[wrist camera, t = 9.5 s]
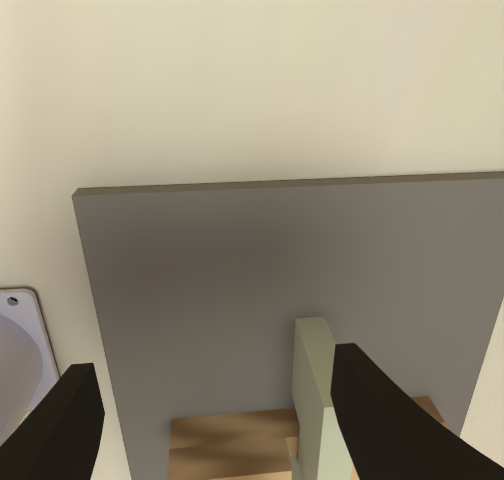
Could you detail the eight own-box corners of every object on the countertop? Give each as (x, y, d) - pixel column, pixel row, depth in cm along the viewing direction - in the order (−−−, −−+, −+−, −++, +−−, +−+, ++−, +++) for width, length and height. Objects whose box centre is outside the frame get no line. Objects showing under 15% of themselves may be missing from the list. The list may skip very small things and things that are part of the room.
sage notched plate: (309, 481, 29) (334, 583, 23) (287, 483, 29) (306, 586, 23) (324, 316, 22) (362, 404, 17) (295, 318, 22) (324, 407, 17)
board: (140, 499, 29) (139, 513, 28) (78, 188, 19) (71, 196, 18) (438, 467, 31) (445, 480, 30) (527, 170, 21) (541, 176, 20)
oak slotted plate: (173, 437, 25) (169, 503, 22) (171, 418, 25) (166, 484, 21) (424, 413, 27) (457, 472, 23) (428, 395, 26) (464, 452, 23)
